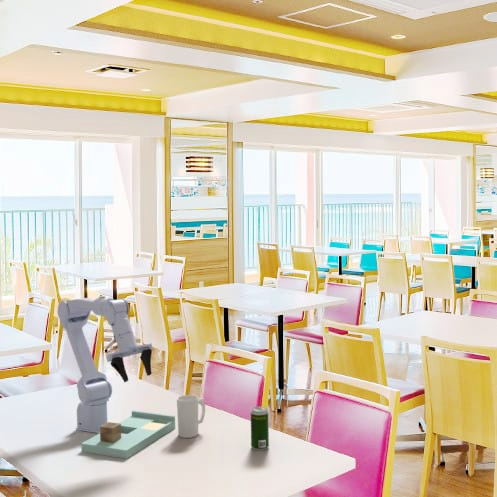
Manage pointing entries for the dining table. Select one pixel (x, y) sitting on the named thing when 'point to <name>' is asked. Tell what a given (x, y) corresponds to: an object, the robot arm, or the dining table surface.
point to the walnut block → (110, 432)
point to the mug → (189, 415)
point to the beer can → (259, 428)
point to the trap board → (132, 435)
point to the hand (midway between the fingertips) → (138, 377)
